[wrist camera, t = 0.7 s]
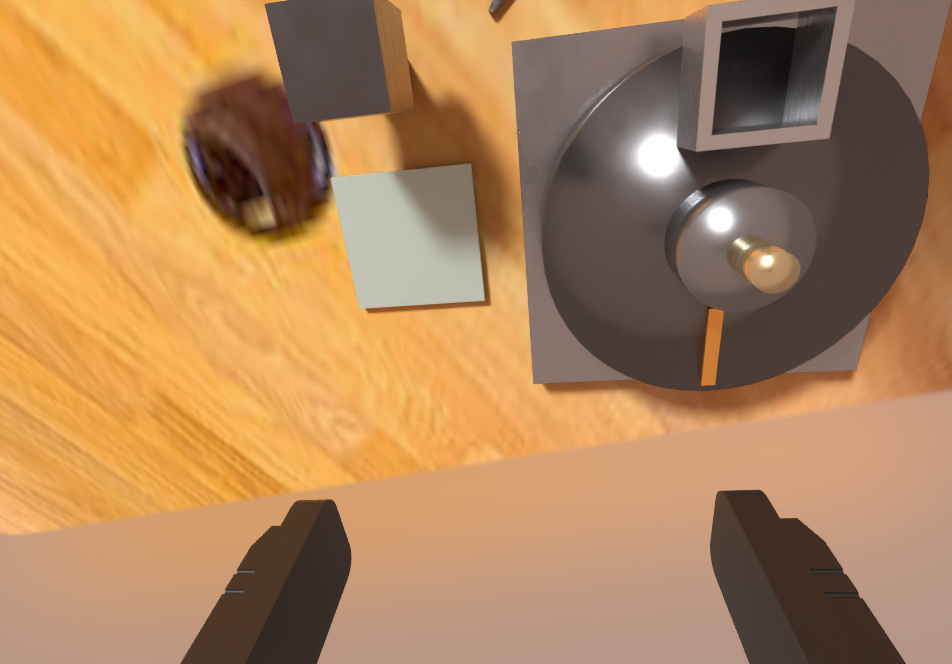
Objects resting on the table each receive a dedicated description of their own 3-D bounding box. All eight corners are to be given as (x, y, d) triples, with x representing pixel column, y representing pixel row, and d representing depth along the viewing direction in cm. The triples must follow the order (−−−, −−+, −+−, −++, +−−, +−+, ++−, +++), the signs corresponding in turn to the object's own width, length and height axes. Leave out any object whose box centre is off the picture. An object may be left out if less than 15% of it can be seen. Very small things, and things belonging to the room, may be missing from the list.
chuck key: (340, 33, 28) (264, 4, 20) (416, 22, 27) (371, -13, 19) (357, 118, 30) (293, 124, 21) (428, 110, 29) (391, 112, 21)
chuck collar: (531, 45, 25) (534, 17, 17) (935, -8, 23) (1165, -71, 15) (547, 373, 33) (554, 459, 25) (845, 359, 31) (959, 450, 23)
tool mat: (334, 177, 31) (330, 178, 31) (471, 163, 30) (470, 164, 29) (362, 305, 35) (359, 308, 34) (485, 297, 34) (484, 300, 33)
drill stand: (512, 46, 27) (511, 42, 25) (924, -9, 24) (956, -17, 23) (532, 369, 36) (533, 383, 34) (838, 355, 33) (856, 370, 31)
